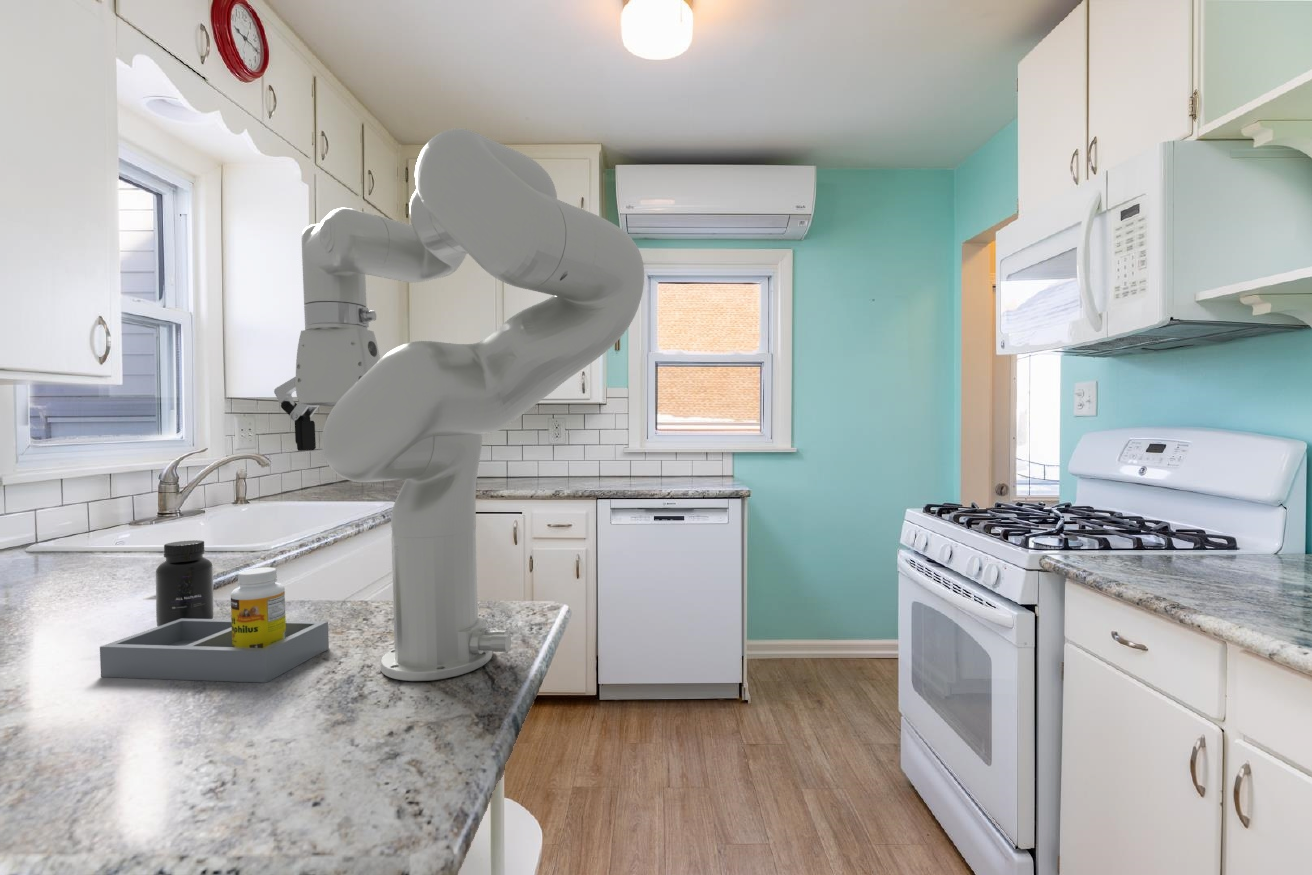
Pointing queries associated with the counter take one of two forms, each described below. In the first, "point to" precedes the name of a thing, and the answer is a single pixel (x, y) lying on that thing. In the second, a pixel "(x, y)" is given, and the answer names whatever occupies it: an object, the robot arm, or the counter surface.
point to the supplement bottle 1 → (184, 583)
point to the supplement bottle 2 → (258, 609)
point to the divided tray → (210, 652)
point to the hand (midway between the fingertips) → (341, 449)
